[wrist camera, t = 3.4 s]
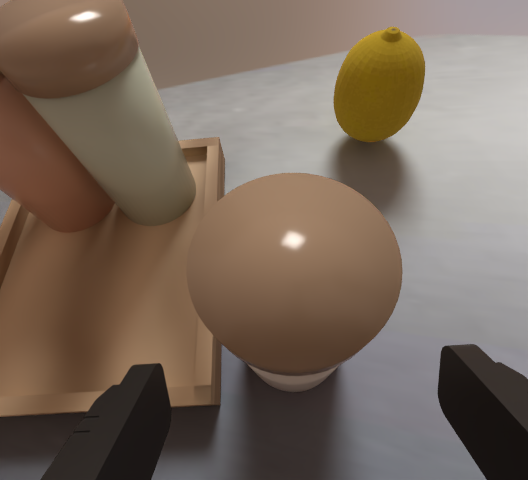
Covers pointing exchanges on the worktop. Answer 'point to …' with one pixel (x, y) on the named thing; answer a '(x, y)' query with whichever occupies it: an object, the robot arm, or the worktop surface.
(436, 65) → the worktop surface
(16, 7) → the sage jar
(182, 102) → the worktop surface
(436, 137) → the worktop surface
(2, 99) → the terracotta jar
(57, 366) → the tray
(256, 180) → the white jar
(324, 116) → the worktop surface
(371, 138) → the lemon
